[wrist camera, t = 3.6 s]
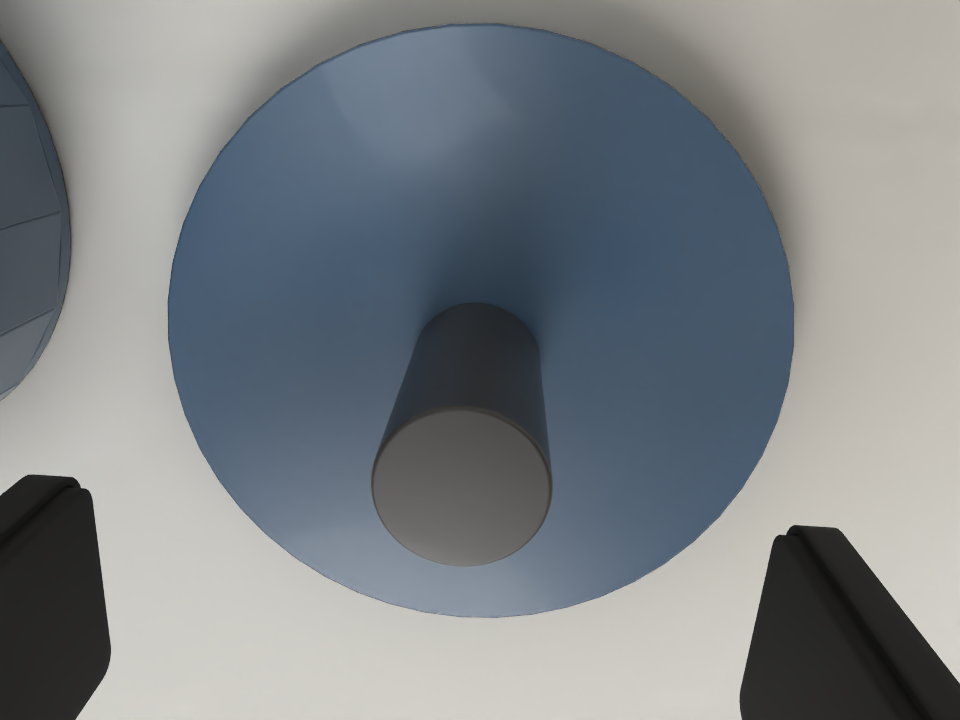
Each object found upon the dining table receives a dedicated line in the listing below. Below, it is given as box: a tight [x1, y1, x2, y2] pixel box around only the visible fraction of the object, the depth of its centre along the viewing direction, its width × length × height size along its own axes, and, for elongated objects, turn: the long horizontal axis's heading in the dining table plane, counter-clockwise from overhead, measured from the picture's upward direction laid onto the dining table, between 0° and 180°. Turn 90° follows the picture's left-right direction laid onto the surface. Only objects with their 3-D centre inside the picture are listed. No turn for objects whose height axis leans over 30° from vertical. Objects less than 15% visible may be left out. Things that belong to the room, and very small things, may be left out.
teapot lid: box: [168, 23, 794, 618], centre depth 16 cm, size 15×15×7 cm
